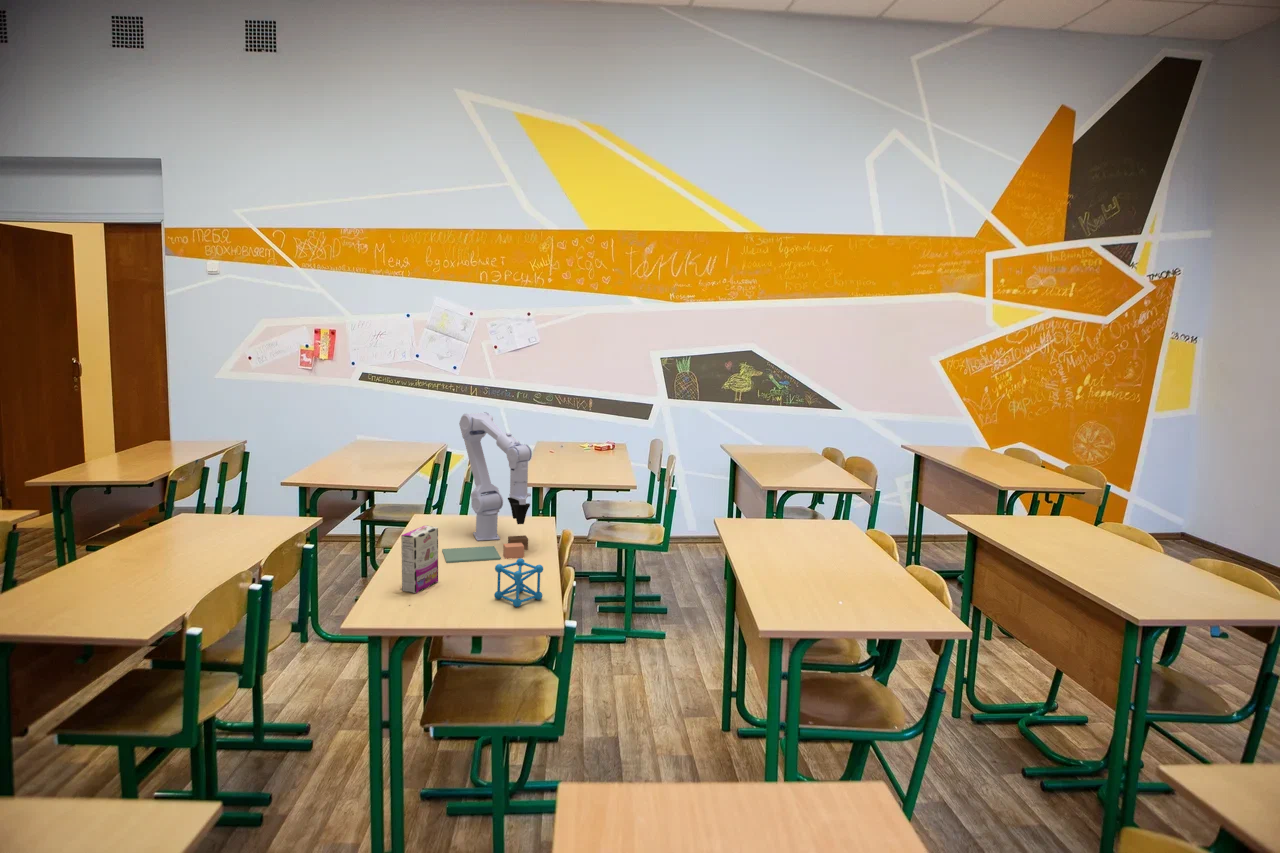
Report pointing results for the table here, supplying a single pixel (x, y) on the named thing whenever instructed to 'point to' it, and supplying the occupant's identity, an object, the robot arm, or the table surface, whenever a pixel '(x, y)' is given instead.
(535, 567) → the molecular structure
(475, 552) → the baseplate
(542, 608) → the table surface
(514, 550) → the terracotta brick
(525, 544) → the walnut brick
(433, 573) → the candy bar box
